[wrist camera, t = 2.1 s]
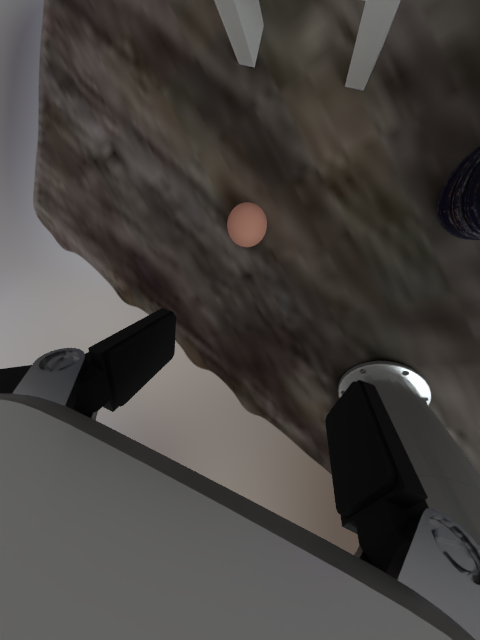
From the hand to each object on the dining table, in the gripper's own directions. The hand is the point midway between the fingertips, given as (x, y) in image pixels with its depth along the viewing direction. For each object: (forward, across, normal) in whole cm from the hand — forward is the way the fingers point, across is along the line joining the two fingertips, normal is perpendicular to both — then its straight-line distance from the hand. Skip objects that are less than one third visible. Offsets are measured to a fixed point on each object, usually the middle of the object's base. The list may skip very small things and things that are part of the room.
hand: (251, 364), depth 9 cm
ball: (+20, +7, -6) cm, 22 cm away
